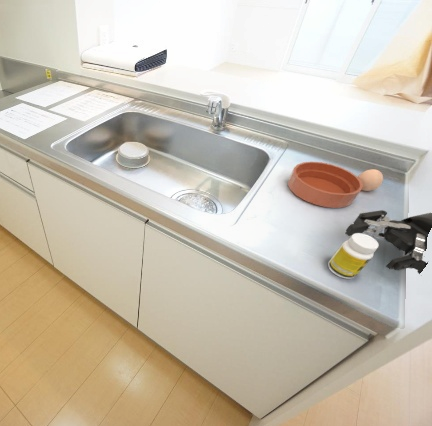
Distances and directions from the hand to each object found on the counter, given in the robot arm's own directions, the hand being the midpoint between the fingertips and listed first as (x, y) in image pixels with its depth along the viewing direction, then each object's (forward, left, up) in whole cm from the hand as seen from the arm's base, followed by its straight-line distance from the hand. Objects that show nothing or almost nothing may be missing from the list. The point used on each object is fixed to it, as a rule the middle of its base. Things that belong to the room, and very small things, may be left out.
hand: (368, 247), depth 52 cm
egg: (+5, -32, -6) cm, 33 cm away
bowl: (+13, -23, -6) cm, 27 cm away
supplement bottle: (+1, +2, -6) cm, 7 cm away
